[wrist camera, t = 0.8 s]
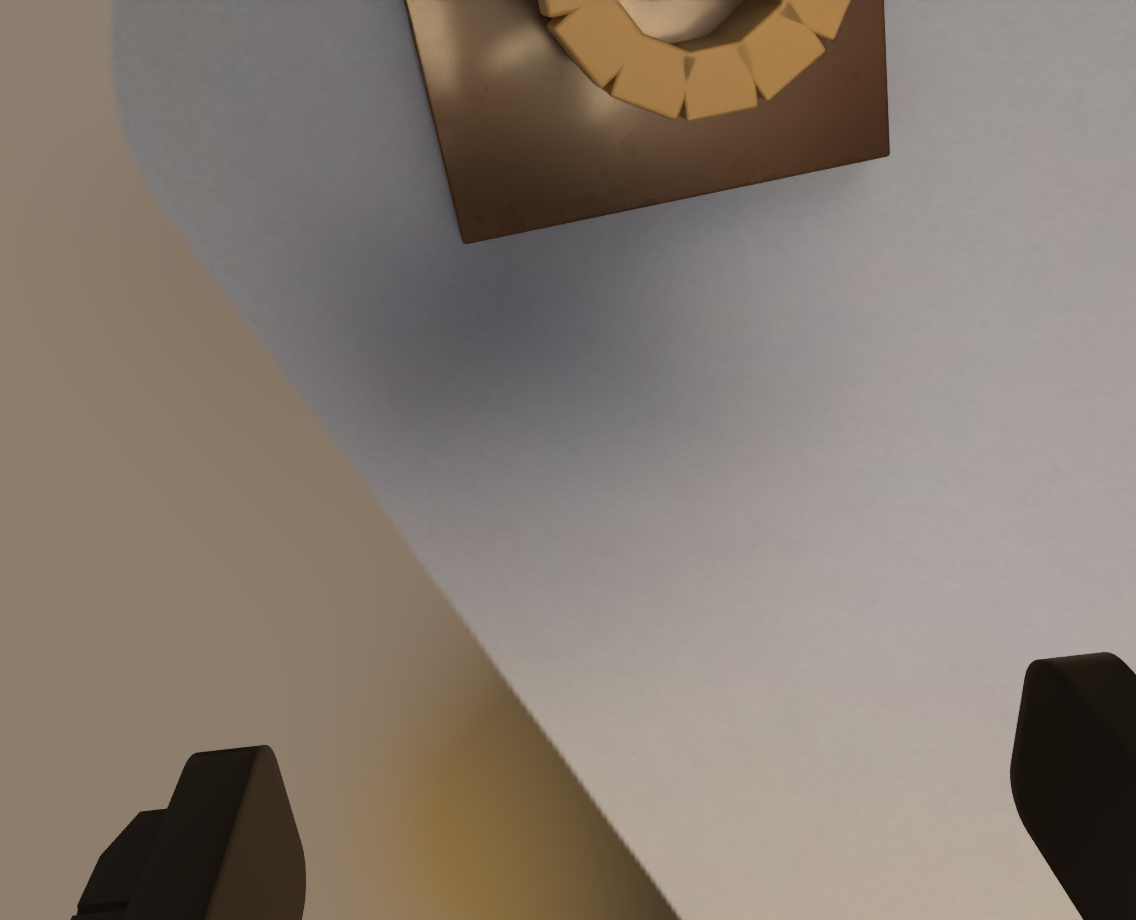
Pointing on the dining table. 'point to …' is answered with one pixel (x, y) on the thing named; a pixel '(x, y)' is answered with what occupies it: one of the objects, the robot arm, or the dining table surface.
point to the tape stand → (624, 116)
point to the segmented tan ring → (695, 54)
